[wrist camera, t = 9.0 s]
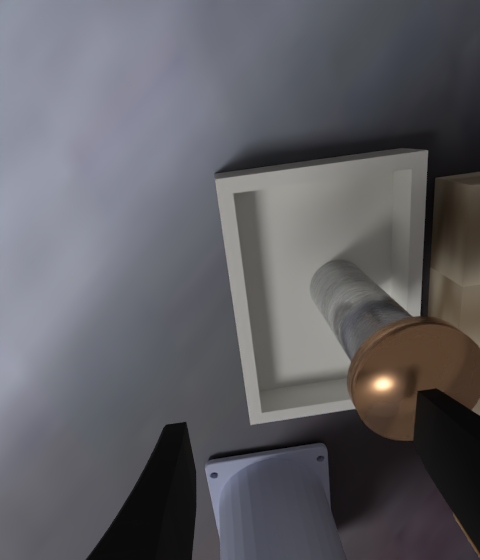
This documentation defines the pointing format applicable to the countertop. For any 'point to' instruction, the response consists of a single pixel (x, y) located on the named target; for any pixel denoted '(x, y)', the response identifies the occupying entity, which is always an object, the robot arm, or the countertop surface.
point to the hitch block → (456, 255)
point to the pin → (392, 350)
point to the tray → (315, 265)
